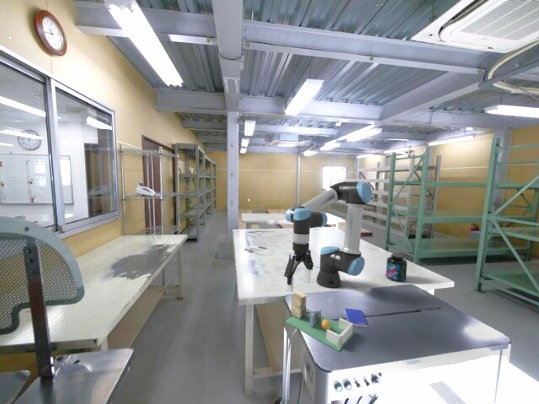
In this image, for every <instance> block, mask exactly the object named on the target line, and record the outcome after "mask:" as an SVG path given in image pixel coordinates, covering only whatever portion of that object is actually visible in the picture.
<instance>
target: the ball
mask: <svg viewBox="0 0 539 404" xmlns="http://www.w3.org/2000/svg"><path fill="white" fill-rule="evenodd" d="M321 326H322V328H323V329H324V330H329V329H330V327H331V324H330V322H329V321H328V320H323V321H322V323H321Z"/></svg>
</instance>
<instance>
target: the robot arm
mask: <svg viewBox="0 0 539 404" xmlns="http://www.w3.org/2000/svg"><path fill="white" fill-rule="evenodd" d="M372 198H373V191H372V187H371V185H370V184H369V183H368V182H364V181H340V182H337V183H334V184H332V185H330V186H328V187H326V188H325V189H324V191H322V192H321V193H319V194H318V195H316V196H314V197H313V198H311V199H310V200H308V201H306V202H304V203H303V204H301V205H298V206H297V207H296V208H294V207H292V208H288V209H287V210H286V212H285V220H286V221H287V222H289V223H292V224H293V229H292V230H293V232H292V233H293V234H292V241H293V242H292V250H293V254H289V256H288V262H287V264H286V267H285V270H284V274H283V276H284V277H285V278H286V279H287V280H286V285H287V286H286V287H287V288H286V291H288V292H290V293H294V274H295V273H296V271H297V268H298V266H299V265H300V264H301V263H303V265H304V266H305V268H304V278H303V279H304V283H307V284H310V283H311V271H313V269H314V268H313V267H314V262H313V258H312V254H311V253H312V252H311V250H310V243H309V242H310V237H311V236H310V235H311V234H310V232H311V229H313V228H315V229H316V228H321V227H324V226H326V225H327V223H328V215H327V214H326V212H323V211H320V210H321V209H323V208H325V207H326V206H328V205H329V204H331V203H333V204H334V203H336V202H338V201H345V206H347V214H346V221H345V230H344V231H345V232H344V241H343V247H341V249H340V247H339V246H333V245H331V246H324V247H322V248H321V249H320V252H319V270H318V271H319V272H318V273H317V276H316V283H317V284H318V285H319V286H321V287H324V288H329V289H336V288H339V287H341V286H342V285H341V284H342V280H341V275H340V272H341V273H345V274H347V275H349V276H353V277H357V276H359V275H360V274H361V273H362V272H363V270H364V267H365V263H366V262H365V261H366V260H365V258H364V257H363V256H362V251H361V250H360V244H361V236H362V235H361V234H362V225H363V215H364V209H365V208H366V207H367V206H368V203H371V201H372Z"/></svg>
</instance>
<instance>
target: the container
mask: <svg viewBox="0 0 539 404" xmlns="http://www.w3.org/2000/svg"><path fill="white" fill-rule="evenodd" d="M407 267H408V261H407V260H406V259H405V258H404V255H402V254H399V253H391V254H390V256H388V257H387V259H386V270H385V277H386V278H387V279H388V280H389V281H393V282H396V283H397V282H399V283H402V282H405V281H406V279H407V269H408V268H407Z"/></svg>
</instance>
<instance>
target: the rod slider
mask: <svg viewBox="0 0 539 404" xmlns="http://www.w3.org/2000/svg"><path fill="white" fill-rule="evenodd" d="M290 300H291V302H290V303H291V305H290V315H291V316H295V317H297V318H299V319H300V318H301V317H303V316H304V315H306V316H308V317H310V326H311V327H313V326H314V325H316V324H317V323H318V322H319V321H320V320H321V315H322V309H321V308H317V309H315V310H314V311H313V313H310V312H307V311H306V308H307V294H304V293H303V292H300V291H297V292H293V294H291V299H290Z"/></svg>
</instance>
